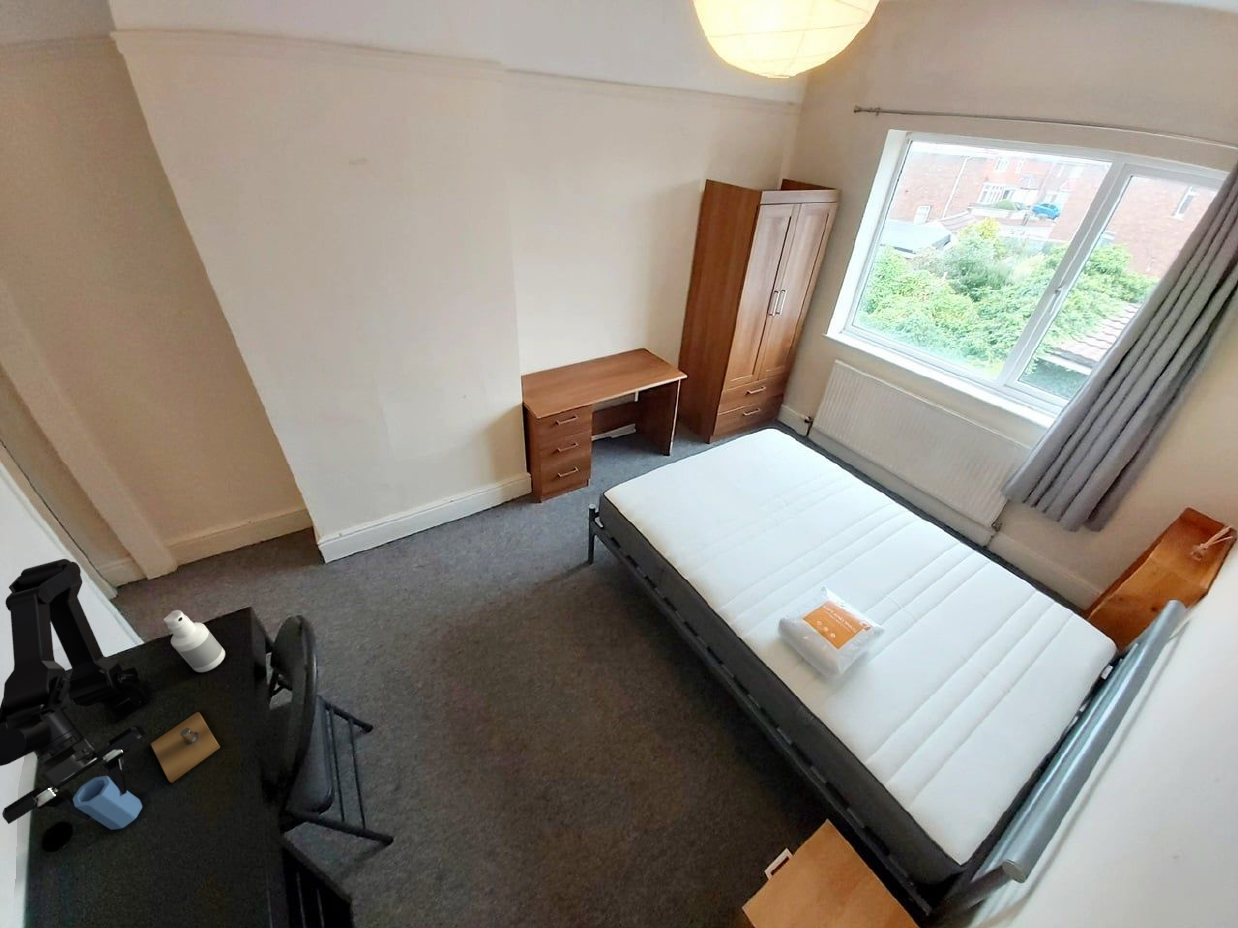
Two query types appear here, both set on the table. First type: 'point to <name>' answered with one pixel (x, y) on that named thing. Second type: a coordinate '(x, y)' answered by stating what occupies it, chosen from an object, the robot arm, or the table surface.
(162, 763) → the base
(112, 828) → the sleeve
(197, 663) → the spray bottle
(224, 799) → the table surface
